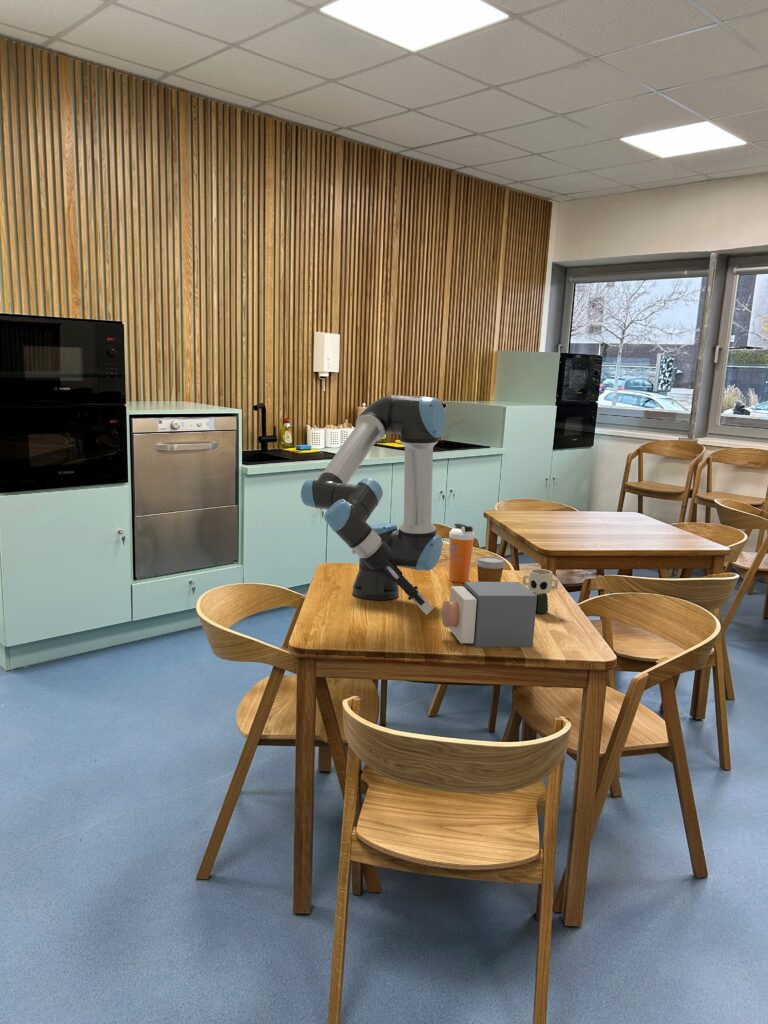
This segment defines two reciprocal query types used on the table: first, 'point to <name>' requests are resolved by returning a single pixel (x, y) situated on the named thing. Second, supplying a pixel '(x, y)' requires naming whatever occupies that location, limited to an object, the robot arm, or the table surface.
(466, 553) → the shaker bottle
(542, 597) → the character mug
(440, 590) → the table surface
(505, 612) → the block
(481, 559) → the disposable coffee cup
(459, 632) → the white drawer
